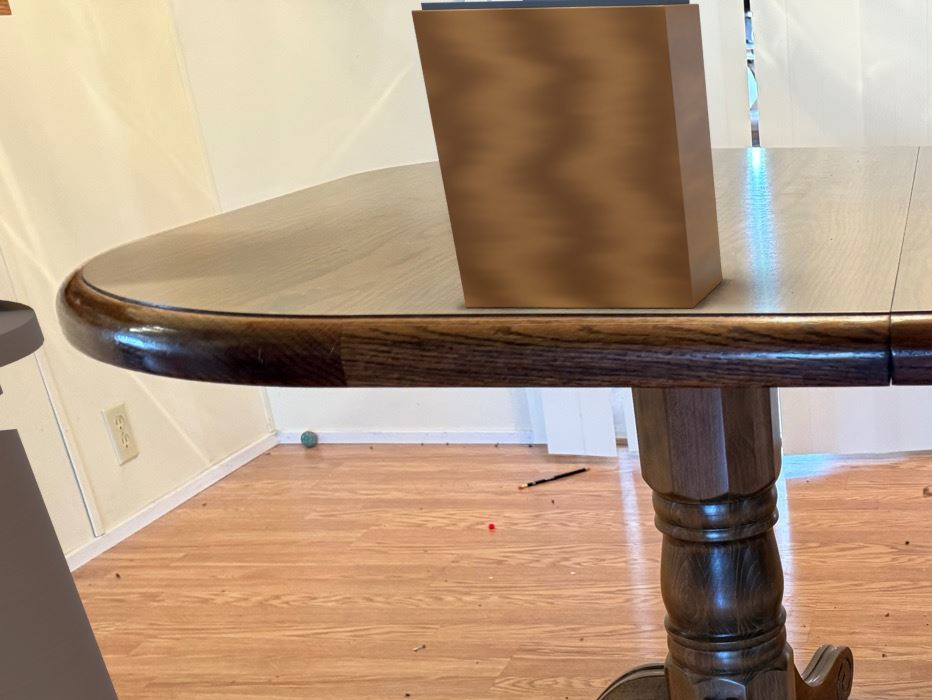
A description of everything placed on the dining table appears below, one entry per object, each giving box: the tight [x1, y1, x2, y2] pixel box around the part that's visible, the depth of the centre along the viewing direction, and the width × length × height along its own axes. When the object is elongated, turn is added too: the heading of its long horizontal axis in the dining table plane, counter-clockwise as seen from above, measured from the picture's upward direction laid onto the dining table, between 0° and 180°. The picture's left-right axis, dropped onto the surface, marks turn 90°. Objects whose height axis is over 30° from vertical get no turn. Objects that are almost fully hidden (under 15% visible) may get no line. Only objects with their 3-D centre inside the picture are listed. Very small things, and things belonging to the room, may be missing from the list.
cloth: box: [420, 0, 691, 10], centre depth 79 cm, size 15×8×1 cm, turn 85°
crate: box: [410, 3, 723, 309], centre depth 84 cm, size 16×9×18 cm, turn 85°
